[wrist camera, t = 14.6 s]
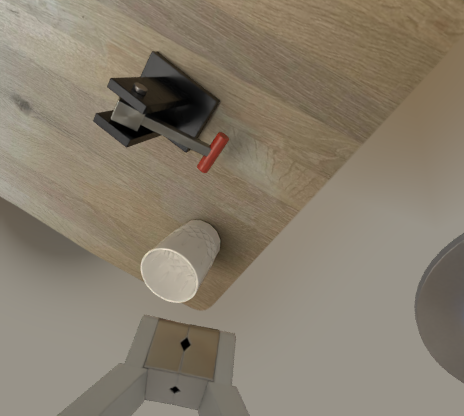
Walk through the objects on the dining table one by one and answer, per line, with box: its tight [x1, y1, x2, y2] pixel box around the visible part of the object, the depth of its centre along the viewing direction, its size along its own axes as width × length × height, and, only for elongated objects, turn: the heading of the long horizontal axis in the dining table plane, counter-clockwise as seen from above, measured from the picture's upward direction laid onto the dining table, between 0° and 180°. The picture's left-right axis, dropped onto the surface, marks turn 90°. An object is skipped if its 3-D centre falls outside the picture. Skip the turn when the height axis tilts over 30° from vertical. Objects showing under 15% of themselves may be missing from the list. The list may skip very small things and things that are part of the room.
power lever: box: [111, 97, 229, 173], centre depth 36 cm, size 12×5×2 cm, turn 56°
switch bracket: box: [93, 51, 220, 152], centre depth 37 cm, size 10×8×12 cm
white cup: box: [141, 220, 221, 303], centre depth 45 cm, size 8×8×10 cm
